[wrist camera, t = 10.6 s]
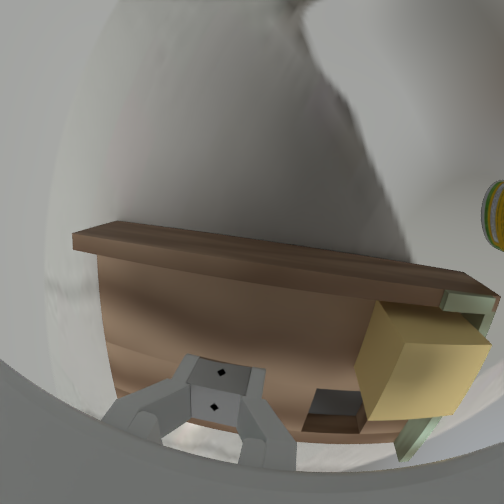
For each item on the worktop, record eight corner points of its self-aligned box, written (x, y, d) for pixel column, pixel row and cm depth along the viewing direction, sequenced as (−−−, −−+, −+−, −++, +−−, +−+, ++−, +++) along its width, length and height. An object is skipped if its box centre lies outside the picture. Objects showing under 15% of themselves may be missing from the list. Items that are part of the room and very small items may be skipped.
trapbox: (116, 220, 19) (66, 234, 14) (463, 272, 16) (505, 299, 11) (129, 383, 23) (101, 418, 18) (396, 423, 20) (409, 465, 15)
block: (376, 298, 15) (405, 342, 10) (453, 307, 14) (492, 344, 10) (353, 366, 16) (367, 420, 12) (427, 369, 16) (452, 414, 11)
